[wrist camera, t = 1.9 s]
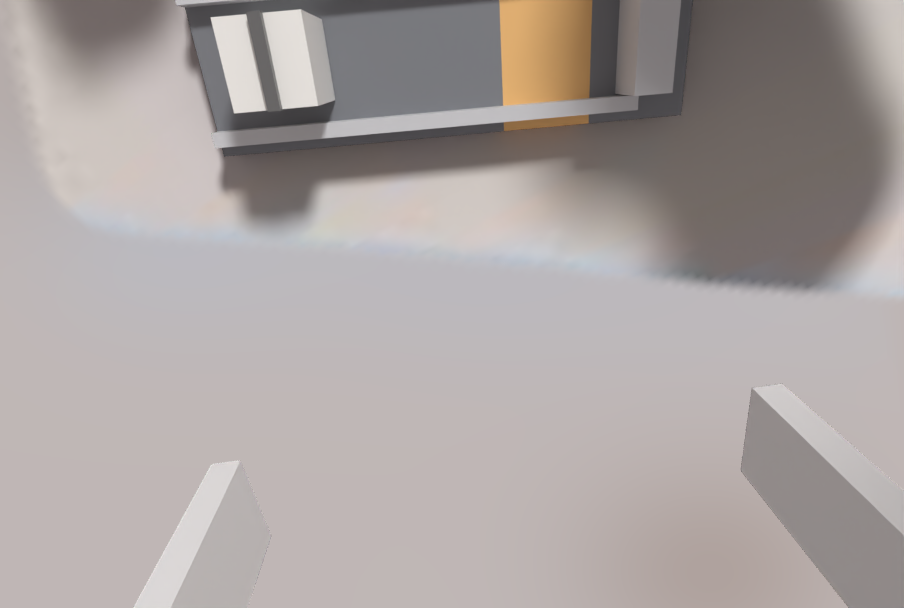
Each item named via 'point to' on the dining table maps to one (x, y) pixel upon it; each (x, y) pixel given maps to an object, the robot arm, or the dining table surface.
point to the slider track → (460, 68)
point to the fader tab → (274, 60)
